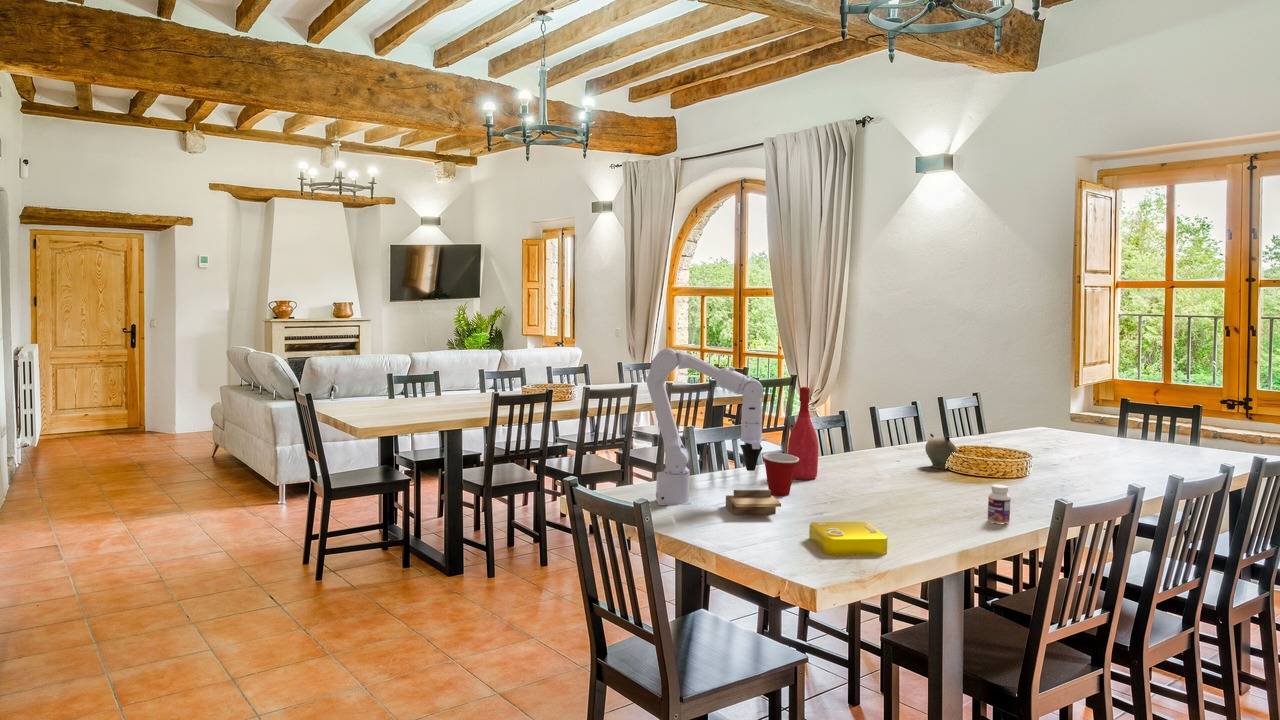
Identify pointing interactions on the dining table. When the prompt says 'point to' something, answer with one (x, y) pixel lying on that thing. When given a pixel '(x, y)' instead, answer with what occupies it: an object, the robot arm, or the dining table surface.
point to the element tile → (847, 538)
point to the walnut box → (748, 508)
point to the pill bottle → (999, 504)
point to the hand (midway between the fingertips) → (750, 470)
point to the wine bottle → (804, 441)
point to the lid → (754, 498)
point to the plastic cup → (779, 472)
